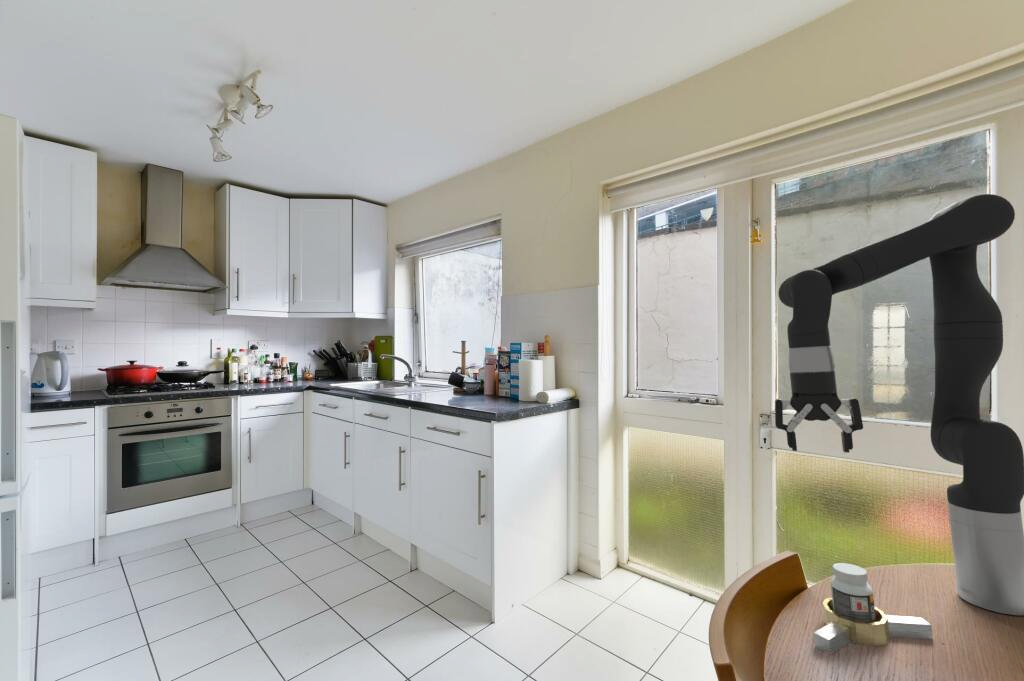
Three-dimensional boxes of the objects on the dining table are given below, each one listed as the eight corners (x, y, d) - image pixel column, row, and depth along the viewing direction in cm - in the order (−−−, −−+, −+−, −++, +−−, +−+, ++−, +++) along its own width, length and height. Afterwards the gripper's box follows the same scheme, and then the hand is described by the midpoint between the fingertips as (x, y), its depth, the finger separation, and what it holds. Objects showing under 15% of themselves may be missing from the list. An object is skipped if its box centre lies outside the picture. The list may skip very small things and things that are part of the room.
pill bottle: (885, 641, 69) (879, 577, 70) (845, 638, 71) (839, 575, 71) (864, 621, 75) (859, 562, 76) (827, 618, 76) (822, 560, 77)
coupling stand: (882, 609, 78) (881, 591, 78) (936, 638, 70) (934, 617, 70) (782, 623, 75) (781, 604, 76) (826, 655, 67) (824, 633, 67)
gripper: (851, 367, 88) (859, 449, 86) (769, 371, 94) (776, 446, 93) (860, 368, 81) (869, 456, 80) (771, 371, 88) (779, 453, 86)
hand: (819, 451), depth 86 cm, fingers open, 8 cm apart
